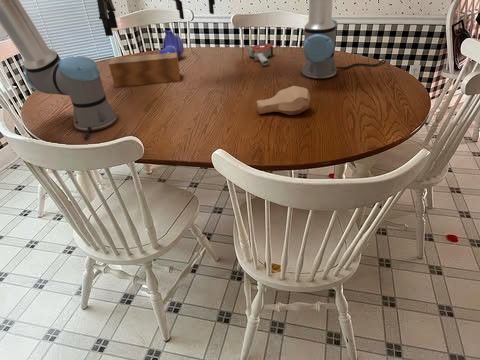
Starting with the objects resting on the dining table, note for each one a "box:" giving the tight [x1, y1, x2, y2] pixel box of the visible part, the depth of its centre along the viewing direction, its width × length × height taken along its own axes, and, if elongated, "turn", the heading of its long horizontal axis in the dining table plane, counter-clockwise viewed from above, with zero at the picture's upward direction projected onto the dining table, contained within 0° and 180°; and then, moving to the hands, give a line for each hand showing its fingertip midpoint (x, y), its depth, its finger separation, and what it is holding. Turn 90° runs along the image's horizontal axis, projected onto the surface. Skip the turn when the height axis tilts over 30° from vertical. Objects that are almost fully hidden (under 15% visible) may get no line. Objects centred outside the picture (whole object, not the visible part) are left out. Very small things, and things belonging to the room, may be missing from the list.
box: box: [108, 52, 181, 88], centre depth 163 cm, size 30×8×11 cm, turn 98°
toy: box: [158, 30, 185, 59], centre depth 184 cm, size 10×17×25 cm
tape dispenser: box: [247, 43, 274, 67], centre depth 182 cm, size 18×5×20 cm
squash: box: [255, 85, 312, 116], centre depth 130 cm, size 11×20×9 cm, turn 92°
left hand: (112, 31), depth 152 cm, fingers open, 13 cm apart
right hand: (197, 16), depth 148 cm, fingers open, 13 cm apart
